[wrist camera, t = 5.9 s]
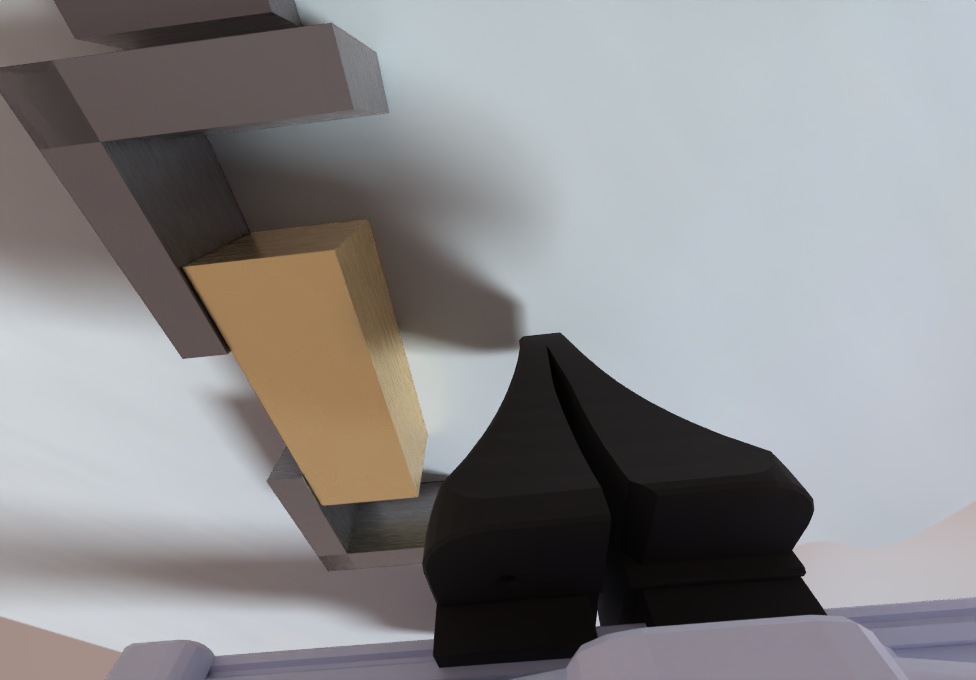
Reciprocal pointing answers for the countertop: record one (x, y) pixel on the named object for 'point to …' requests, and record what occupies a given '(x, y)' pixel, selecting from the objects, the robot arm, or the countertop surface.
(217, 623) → the countertop surface
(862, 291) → the countertop surface
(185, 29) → the chain end blocks
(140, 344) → the countertop surface
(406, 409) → the light wood block
